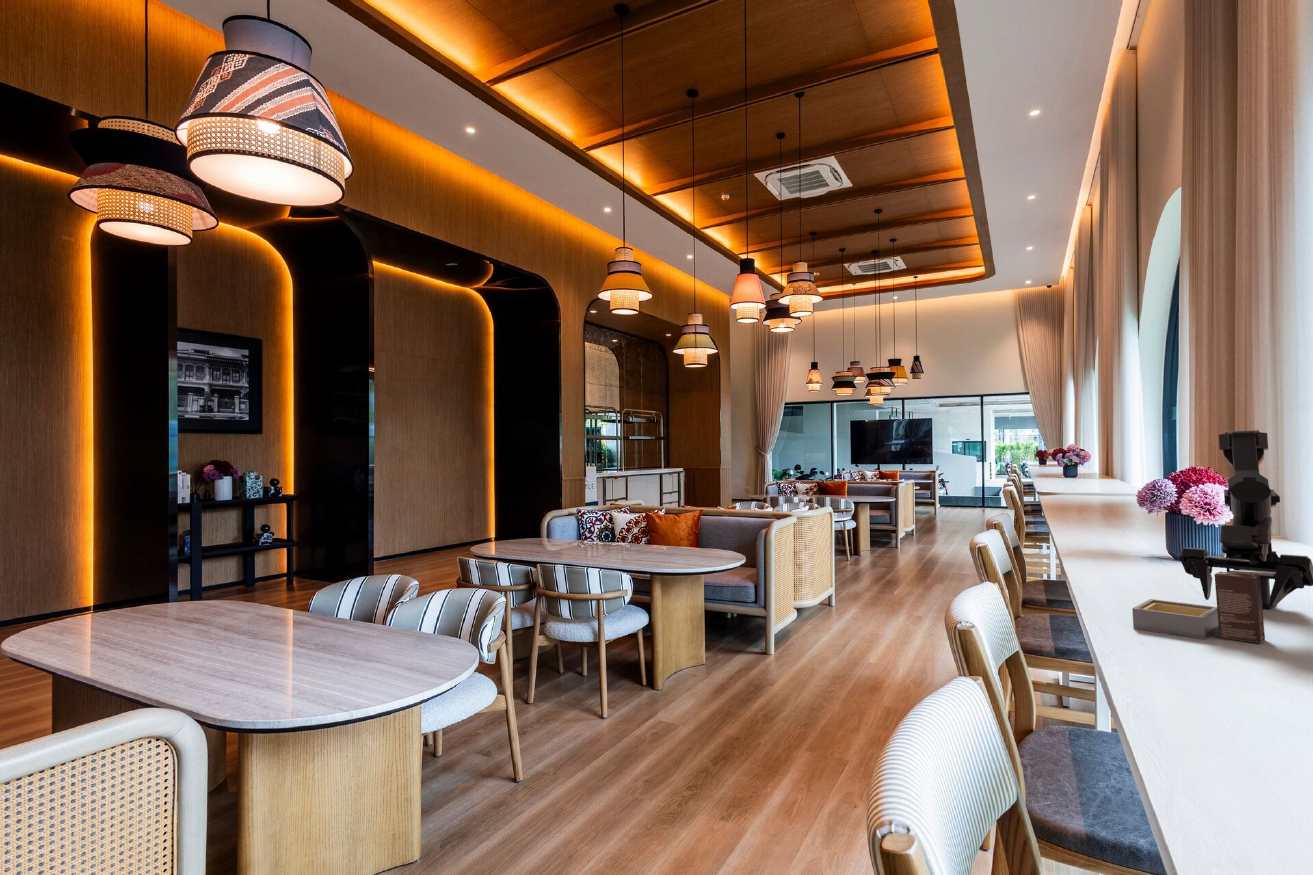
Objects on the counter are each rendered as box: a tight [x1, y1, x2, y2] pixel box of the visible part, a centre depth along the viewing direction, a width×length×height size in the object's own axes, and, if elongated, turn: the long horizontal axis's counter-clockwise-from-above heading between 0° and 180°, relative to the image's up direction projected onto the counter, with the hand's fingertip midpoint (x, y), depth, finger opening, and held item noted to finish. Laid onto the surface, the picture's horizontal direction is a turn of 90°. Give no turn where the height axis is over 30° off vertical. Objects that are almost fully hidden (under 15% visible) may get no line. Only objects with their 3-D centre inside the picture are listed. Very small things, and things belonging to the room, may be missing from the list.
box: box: [1214, 571, 1266, 645], centre depth 123 cm, size 6×4×12 cm
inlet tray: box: [1132, 598, 1219, 640], centre depth 131 cm, size 11×11×4 cm
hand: (1237, 602), depth 122 cm, fingers open, 9 cm apart
